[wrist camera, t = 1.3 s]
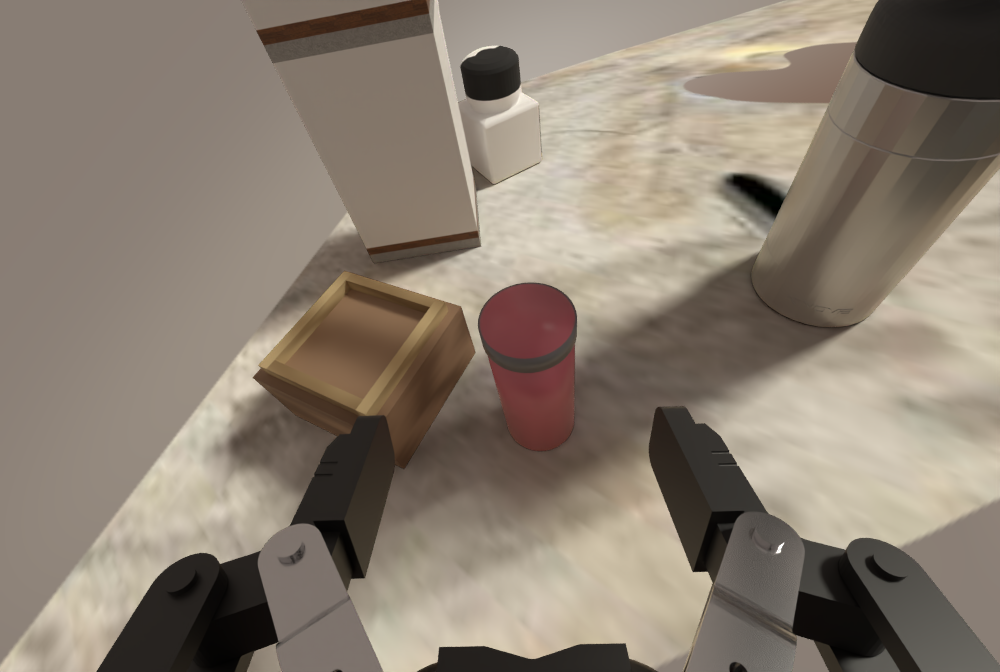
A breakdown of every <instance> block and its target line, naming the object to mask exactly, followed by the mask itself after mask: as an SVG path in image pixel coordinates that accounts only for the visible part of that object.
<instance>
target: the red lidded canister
mask: <svg viewBox="0 0 1000 672" xmlns="http://www.w3.org/2000/svg"><path fill="white" fill-rule="evenodd" d="M478 329H479V333H480V337H481V340H482V344H483V347H484V350H485V352H486V353H487V355H488V358H489V362H490V365H491V369H492V372H493V376H494V379H495V383H496V387H497V390H498V394H499V397H500V401H501V404H502V408H503V411H504V415H505V419H506V422H507V426H508V429H509V432H510V434H511V436H512V437H513V438H514V440H515V441H516V442H517V443H518V444H520V445H521V446H523V447H525V448H527V449H530V450H534V451H546V450H551V449H554V448H556V447H558V446H560V445H561V444H562V443H564V442H565V441H566V440H567V439H568V437H569V436H570V434H571V432H572V430H573V426H574V383H575V341H576V337H577V314H576V310H575V307H574V305H573V303H572V302H571V300H570V299H569V298H568V297H567V296H566V295H565V294H564V293H563V292H562V291H560V290H558V289H557V288H554V287H552V286H549V285H546V284H541V283H521V284H516V285H512V286H509V287H507V288H504V289H502V290H500V291H499V292H497V293H496V294H494V295H493V296H492V297H491V298H490V299H489V300H488V301H487V302H486V303H485V305H484V306H483V308H482V310H481V312H480V315H479V319H478Z"/></svg>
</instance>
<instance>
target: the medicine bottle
mask: <svg viewBox="0 0 1000 672" xmlns="http://www.w3.org/2000/svg"><path fill="white" fill-rule="evenodd" d="M461 72H462V78H463V83H464V88H465V93H466V99H465V100H462V101H460V102H458V105H459V110H460V115H461V120H462V125H463V129H464V134H465V139H466V144H467V149H468V154H469V158H470V163H471V165H472V166H473V167H474V168H475V169H476V170H477V171H479V172H480V173H481V174H482V175H483V176H484V177H485V178H487V179H488V180H489V181H490V182H491V183H493V184H496V183H498V182H500V181H502V180H504V179H506V178H508V177H510V176H512V175H514V174H517V173H519V172H521V171H523V170H525V169H527V168H529V167H531V166H533V165H535V164H537V163H539V162H541V161H542V148H541V132H540V115H539V104H538V102H537V101H535V100H533V99H532V98H530V97H528V96H527V95H525V94H523V93H522V92H521V81H520V70H519V58H518V55H517V54H516V52H515V51H514V50H512V49H510V48H507V47H503V46H488V47H483V48H480V49H477V50H475V51H473V52H472V53H470V54H469V55H467V56H466V57H465V58H464V59H463V61H462V63H461Z"/></svg>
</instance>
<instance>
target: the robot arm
mask: <svg viewBox="0 0 1000 672" xmlns="http://www.w3.org/2000/svg"><path fill="white" fill-rule="evenodd" d="M999 169H1000V0H879V1H878V2H877V3H876V5H875V7H874V9H873V11H872V12H871V14H870V16H869V18H868V20H867V22H866V25H865V27H864V29H863V31H862V33H861V35H860V37H859V40H858V42H857V44H856V46H855V49H854V51H853V53H852V55H851V58H850V60H849V62H848V64H847V66H846V68H845V71H844V73H843V75H842V77H841V79H840V81H839V83H838V86H837V88H836V90H835V92H834V94H833V96H832V99H831V101H830V103H829V106H828V108H827V110H826V112H825V114H824V116H823V118H822V121H821V123H820V125H819V127H818V129H817V131H816V133H815V136H814V138H813V140H812V142H811V144H810V146H809V148H808V151H807V153H806V155H805V157H804V159H803V161H802V163H801V165H800V168H799V170H798V172H797V174H796V176H795V178H794V180H793V183H792V185H791V187H790V189H789V191H788V193H787V195H786V198H785V200H784V202H783V204H782V206H781V208H780V210H779V213H778V215H777V217H776V219H775V221H774V223H773V225H772V228H771V230H770V231H769V233H768V236H767V238H766V240H765V242H764V244H763V246H762V249H761V251H760V253H759V255H758V257H757V259H756V261H755V264H754V266H753V269H752V273H751V277H752V284H753V286H754V289H755V291H756V292H757V294H758V295H759V296H760V298H761V299H762V300H763V301H764V302H765V303H766V304H767V305H768V306H769V307H771V308H772V309H774V310H775V311H777V312H778V313H780V314H782V315H784V316H786V317H788V318H790V319H792V320H795V321H798V322H801V323H804V324H808V325H814V326H820V327H841V326H849V325H852V324H855V323H858V322H861V321H862V320H864V319H866V318H867V317H869V316H870V315H871V314H872V312H873V311H874V310H875V309H876V308H877V307H878V306H879V305H880V304H881V302H882V301H883V300H884V299H885V298H886V297H887V296H888V295H889V293H890V292H891V291H892V290H893V289H894V288H895V287H896V286H897V284H898V283H899V282H900V281H901V280H902V279H903V278H904V277H905V276H906V275H907V274H908V272H909V271H910V270H911V269H912V268H913V267H914V266H915V264H916V263H917V262H918V261H919V260H920V259H921V258H922V256H923V255H924V254H925V253H926V252H927V251H928V250H929V248H930V247H931V246H932V245H933V244H934V243H935V242H936V240H937V239H938V238H939V237H940V236H941V235H942V234H943V232H944V231H945V230H946V229H947V228H948V227H949V226H950V224H951V223H952V222H953V221H954V220H955V219H956V218H957V216H958V215H959V214H960V213H961V212H962V211H963V210H964V208H965V207H966V206H967V205H968V204H969V203H970V202H971V200H972V199H973V198H974V197H975V196H976V195H977V194H978V192H979V191H980V190H981V189H982V188H983V187H984V186H985V185H986V183H987V182H988V181H989V180H990V179H991V178H992V177H993V175H994V174H995V173H996V172H997V171H998V170H999ZM649 458H650V463H651V466H652V469H653V471H654V474H655V477H656V479H657V482H658V484H659V487H660V489H661V492H662V494H663V497H664V500H665V502H666V505H667V507H668V510H669V512H670V515H671V517H672V520H673V523H674V525H675V528H676V530H677V533H678V535H679V538H680V540H681V543H682V546H683V548H684V551H685V553H686V556H687V558H688V561H689V563H690V566H691V569H692V571H693V572H708V573H709V575H710V578H711V580H712V582H713V584H712V587H711V589H710V592H709V595H708V598H707V601H706V604H705V607H704V610H703V613H702V616H701V619H700V622H699V625H698V628H697V631H696V634H695V637H694V640H693V643H692V646H691V649H690V652H689V655H688V657H687V660H686V663H685V666H684V669H683V672H792V671H793V664H794V658H795V652H796V642H797V637H796V635H798V636H801V637H804V638H807V639H811V640H814V642H815V644H816V646H817V648H818V650H819V652H820V654H821V656H822V658H823V660H824V662H825V664H826V666H827V668H828V670H829V672H1000V665H999V663H998V662H997V661H996V660H995V658H994V657H993V656H992V655H991V654H990V652H989V651H988V650H987V649H986V647H985V646H984V645H983V643H982V642H981V641H980V640H979V639H978V637H977V636H976V635H975V633H974V632H973V631H972V630H971V629H970V627H969V626H968V625H967V623H966V622H965V621H964V620H963V618H962V617H961V616H960V615H959V614H958V612H957V611H956V610H955V609H954V607H953V606H952V605H951V603H950V602H949V601H948V600H947V598H946V597H945V596H944V595H943V594H942V592H941V591H940V590H939V588H938V587H937V586H936V585H935V583H934V582H933V581H932V580H931V578H929V576H928V575H927V573H926V572H925V571H924V570H923V569H922V567H921V566H920V565H919V564H918V563H917V562H916V561H915V560H914V559H912V558H911V557H910V556H909V555H907V554H906V553H905V552H903V551H901V550H900V549H898V548H896V547H894V546H893V545H890V544H888V543H886V542H883V541H880V540H876V539H872V538H859V539H855V540H854V541H852V542H851V543H850V544H849V545H848V547H847V549H846V550H844V549H840V548H836V547H832V546H828V545H824V544H820V543H816V542H812V541H809V540H805V539H803V538H800V537H799V535H798V534H797V533H796V532H795V530H793V529H792V528H791V527H790V526H789V525H788V524H787V523H785V522H784V521H782V520H781V519H779V518H777V517H775V516H772V515H770V514H768V513H767V511H766V510H765V508H764V506H763V505H762V503H761V501H760V500H759V498H758V497H757V495H756V493H755V492H754V490H753V489H752V487H751V485H750V484H749V482H748V480H747V479H746V477H745V476H744V474H743V472H742V471H741V469H740V467H739V466H737V463H736V461H735V459H734V458H733V456H732V454H730V453H729V450H728V448H727V446H726V445H725V443H724V442H723V440H722V438H721V437H720V436H719V435H718V434H717V433H716V432H715V431H713V430H712V429H711V428H710V427H709V426H707V425H706V424H705V423H704V424H695V422H694V420H693V419H692V417H691V415H690V413H689V412H688V410H687V408H686V407H684V406H675V407H657V409H656V411H655V415H654V421H653V426H652V432H651V437H650V442H649ZM394 467H395V454H394V449H393V444H392V440H391V436H390V432H389V427H388V423H387V419H386V417H385V416H384V415H372V416H358V417H357V419H356V421H355V423H354V426H353V428H352V430H351V433H350V434H340V435H339V436H338V437H337V438H336V439H335V440H334V441H333V442H332V443H331V444H330V445H329V446H328V447H327V449H326V451H325V453H324V455H323V457H322V459H321V461H320V465H318V468H317V470H316V472H315V474H314V475H315V476H314V477H313V478H312V480H311V482H310V485H309V487H308V489H307V491H306V493H305V495H304V497H303V499H302V501H301V504H300V506H299V508H298V510H297V512H296V514H295V516H294V518H293V520H292V523H291V524H290V526H289V527H287V528H285V529H283V530H281V531H279V532H278V533H276V534H275V535H274V536H273V537H272V538H270V539H269V540H268V542H267V543H266V544H265V545H264V547H263V548H262V550H261V551H259V552H256V553H254V554H251V555H247V556H244V557H241V558H238V559H235V560H232V561H228V562H225V563H222V564H220V563H219V562H218V560H217V558H215V557H214V556H213V555H211V554H207V553H199V554H193V555H190V556H187V557H185V558H182V559H181V560H179V561H177V562H175V563H174V564H172V565H171V566H169V567H168V568H167V569H165V570H164V571H163V572H162V573H161V574H160V575H159V576H158V577H157V578H156V580H155V581H154V582H153V584H152V585H151V586H150V588H149V590H148V591H147V593H146V594H145V596H144V597H143V599H142V601H141V602H140V604H139V605H138V607H137V608H136V610H135V612H134V613H133V615H132V616H131V618H130V620H129V621H128V623H127V624H126V626H125V627H124V629H123V631H122V632H121V634H120V635H119V637H118V638H117V640H116V642H115V643H114V645H113V646H112V648H111V650H110V651H109V653H108V654H107V656H106V657H105V659H104V661H103V662H102V664H101V665H100V667H99V668H98V670H97V672H247V669H248V667H249V664H250V661H251V659H252V656H253V653H254V651H256V650H258V649H261V648H264V647H267V646H269V645H272V644H275V643H277V642H278V644H277V645H276V651H277V656H278V660H279V664H280V667H281V671H282V672H383V670H382V668H381V666H380V663H379V661H378V659H377V657H376V654H375V652H374V650H373V648H372V645H371V643H370V641H369V639H368V636H367V634H366V632H365V630H364V628H363V625H362V623H361V621H360V619H359V616H358V614H357V612H356V610H355V607H354V605H353V603H352V601H351V599H350V597H349V595H348V593H347V590H348V587H349V583H350V580H351V579H357V578H365V576H366V572H367V568H368V565H369V561H370V557H371V554H372V550H373V546H374V543H375V539H376V535H377V532H378V528H379V524H380V521H381V517H382V513H383V510H384V506H385V502H386V499H387V495H388V491H389V488H390V484H391V480H392V477H393V473H394ZM417 672H658V671H656V670H654V669H652V668H651V667H649V666H647V665H645V664H642V663H640V662H638V661H635V660H631V659H629V657H628V652H627V648H626V643H625V644H579V645H576V646H573V647H570V648H567V649H564V650H561V651H558V652H555V653H552V654H549V655H546V656H543V657H540V658H537V659H527V658H524V657H520V656H517V655H513V654H510V653H506V652H503V651H499V650H496V649H492V648H489V647H485V646H475V647H439V655H438V662H437V663H434V664H431V665H429V666H427V667H425V668H423V669H421V670H419V671H417Z"/></svg>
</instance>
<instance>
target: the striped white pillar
mask: <svg viewBox="0 0 1000 672" xmlns="http://www.w3.org/2000/svg"><path fill="white" fill-rule="evenodd" d="M241 1H242V3H243V5H244V7H245V9H246V11H247V13H248V15H249V17H250V19H251V21H252V23H253V25H254V27H255V29H256V31H257V33H258V35H259V37H260V39H261V41H262V43H263V45H264V47H265V49H266V51H267V53H268V55H269V57H270V59H271V61H272V63H273V65H274V66H275V69H276V70H277V73H278V75H279V76H280V79H281V80H282V83H283V84H284V86H285V88H286V90H287V92H288V94H289V96H290V98H291V100H292V102H293V104H294V106H295V108H296V110H297V112H298V114H299V116H300V118H301V120H302V122H303V124H304V126H305V128H306V130H307V132H308V134H309V136H310V138H311V140H312V142H313V144H314V146H315V148H316V150H317V152H318V154H319V156H320V158H321V160H322V162H323V163H324V165H325V168H326V169H327V171H328V174H329V175H330V177H331V180H332V181H333V183H334V185H335V187H336V189H337V191H338V193H339V195H340V197H341V199H342V201H343V203H344V205H345V207H346V209H347V211H348V213H349V215H350V217H351V219H352V221H353V223H354V225H355V227H356V229H357V231H358V233H359V235H360V237H361V239H362V241H363V243H364V245H365V247H366V249H367V251H368V253H369V255H370V257H371V259H372V261H373V263H379V262H385V261H392V260H398V259H404V258H410V257H416V256H423V255H429V254H435V253H441V252H448V251H454V250H460V249H466V248H472V247H479V246H481V240H480V228H479V217H478V205H477V193H476V184H475V179H474V174H473V171H472V168H471V163H470V158H469V154H468V149H467V144H466V139H465V134H464V129H463V125H462V120H461V115H460V110H459V105H458V100H457V95H456V91H455V86H454V81H453V76H452V71H451V66H450V62H449V57H448V53H447V47H446V42H445V37H444V33H443V28H442V23H441V18H440V13H439V3H438V0H241Z"/></svg>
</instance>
